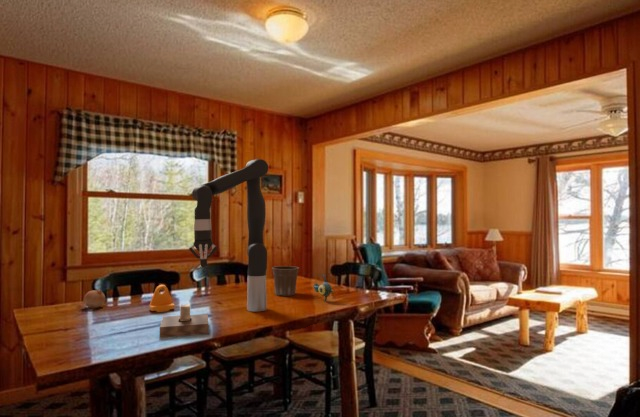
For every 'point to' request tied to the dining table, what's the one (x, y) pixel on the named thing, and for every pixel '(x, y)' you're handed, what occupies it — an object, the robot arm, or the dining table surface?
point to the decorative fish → (323, 288)
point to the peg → (185, 313)
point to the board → (184, 326)
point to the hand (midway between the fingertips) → (203, 267)
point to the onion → (94, 299)
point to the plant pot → (285, 280)
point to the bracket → (161, 300)
